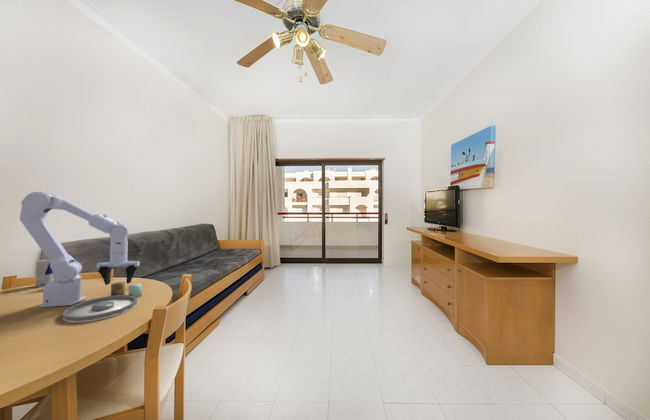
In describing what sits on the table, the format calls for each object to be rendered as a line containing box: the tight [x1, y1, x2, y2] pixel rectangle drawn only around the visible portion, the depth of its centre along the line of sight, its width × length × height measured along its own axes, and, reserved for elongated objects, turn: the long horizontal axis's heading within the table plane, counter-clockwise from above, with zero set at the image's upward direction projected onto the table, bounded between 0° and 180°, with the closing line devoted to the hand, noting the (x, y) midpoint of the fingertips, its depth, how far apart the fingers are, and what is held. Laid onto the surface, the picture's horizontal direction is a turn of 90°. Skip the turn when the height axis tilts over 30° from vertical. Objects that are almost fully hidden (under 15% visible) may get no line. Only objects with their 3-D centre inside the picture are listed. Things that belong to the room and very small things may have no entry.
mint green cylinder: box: [128, 283, 143, 299], centre depth 98 cm, size 4×4×5 cm
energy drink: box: [35, 258, 55, 288], centre depth 109 cm, size 5×5×12 cm
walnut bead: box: [110, 281, 126, 296], centre depth 99 cm, size 4×4×5 cm
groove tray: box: [61, 294, 138, 324], centre depth 85 cm, size 20×20×2 cm
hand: (118, 283), depth 99 cm, fingers open, 7 cm apart
